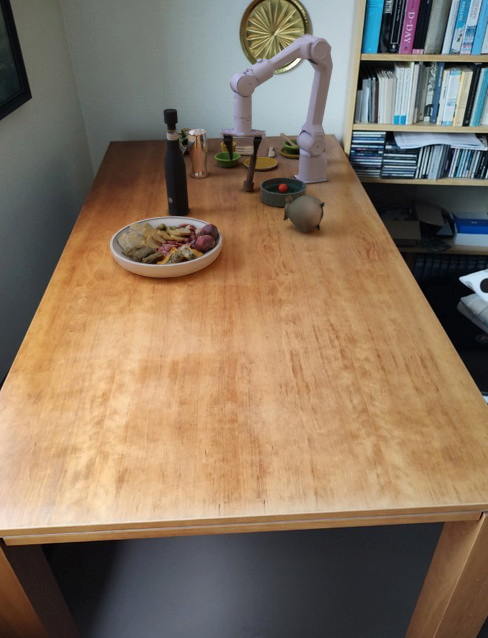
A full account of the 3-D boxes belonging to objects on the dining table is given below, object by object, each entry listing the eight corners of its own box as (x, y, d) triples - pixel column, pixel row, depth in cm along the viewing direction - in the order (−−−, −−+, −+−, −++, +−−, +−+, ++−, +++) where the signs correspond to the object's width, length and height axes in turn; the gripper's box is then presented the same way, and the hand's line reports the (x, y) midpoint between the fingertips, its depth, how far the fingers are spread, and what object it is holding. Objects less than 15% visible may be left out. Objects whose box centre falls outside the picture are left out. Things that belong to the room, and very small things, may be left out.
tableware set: (323, 149, 221) (325, 133, 217) (324, 174, 200) (325, 156, 196) (222, 146, 224) (221, 130, 220) (212, 170, 203) (211, 153, 199)
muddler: (251, 189, 189) (257, 155, 185) (254, 191, 186) (261, 157, 182) (241, 187, 188) (247, 153, 183) (244, 189, 185) (250, 155, 180)
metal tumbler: (208, 178, 197) (206, 134, 187) (189, 178, 197) (185, 134, 187) (209, 171, 202) (207, 128, 192) (190, 171, 202) (188, 128, 192)
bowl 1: (117, 290, 137) (112, 262, 132) (108, 239, 159) (104, 213, 154) (234, 274, 143) (233, 246, 138) (209, 227, 165) (208, 201, 160)
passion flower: (190, 164, 224) (206, 139, 218) (182, 168, 214) (199, 142, 209) (168, 146, 222) (183, 120, 216) (159, 149, 213) (175, 122, 207)
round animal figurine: (294, 219, 170) (296, 186, 163) (329, 227, 165) (333, 194, 158) (278, 231, 163) (279, 197, 156) (315, 240, 158) (318, 206, 152)
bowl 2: (295, 188, 189) (296, 175, 187) (312, 204, 178) (313, 191, 175) (253, 193, 186) (253, 180, 183) (268, 210, 175) (268, 196, 172)
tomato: (285, 190, 186) (285, 181, 184) (288, 193, 184) (289, 184, 182) (277, 191, 186) (277, 182, 184) (280, 194, 183) (280, 186, 182)
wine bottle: (190, 208, 176) (183, 107, 157) (187, 216, 171) (179, 113, 152) (171, 207, 177) (161, 107, 158) (166, 216, 172) (156, 113, 153)
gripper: (217, 118, 171) (219, 163, 179) (264, 120, 169) (263, 165, 178) (221, 112, 176) (223, 156, 185) (266, 114, 174) (265, 157, 183)
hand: (243, 160), depth 181 cm, fingers open, 7 cm apart
